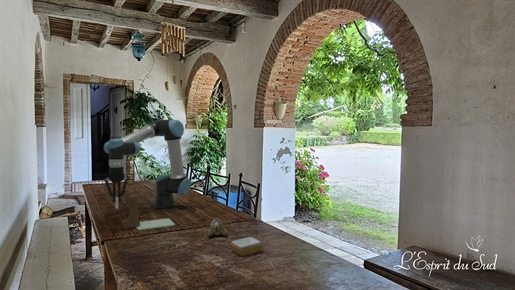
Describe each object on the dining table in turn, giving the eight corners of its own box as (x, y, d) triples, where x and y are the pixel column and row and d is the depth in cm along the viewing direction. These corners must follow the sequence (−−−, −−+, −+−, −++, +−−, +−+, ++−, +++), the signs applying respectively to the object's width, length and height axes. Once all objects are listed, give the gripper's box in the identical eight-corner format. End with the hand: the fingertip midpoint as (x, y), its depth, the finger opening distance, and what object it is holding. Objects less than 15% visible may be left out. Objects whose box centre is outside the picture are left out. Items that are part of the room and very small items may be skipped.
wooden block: (123, 229, 184) (120, 198, 183) (122, 227, 188) (119, 197, 187) (140, 226, 189) (137, 195, 187) (138, 224, 193) (135, 194, 191)
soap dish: (251, 246, 161) (251, 236, 161) (263, 252, 153) (263, 241, 153) (229, 251, 154) (229, 240, 154) (240, 258, 146) (240, 247, 146)
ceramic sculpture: (225, 214, 186) (227, 223, 171) (225, 229, 187) (227, 239, 172) (207, 215, 184) (207, 224, 169) (207, 230, 185) (207, 240, 170)
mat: (168, 219, 206) (168, 218, 206) (175, 225, 193) (175, 224, 193) (134, 223, 196) (133, 222, 196) (137, 230, 183) (137, 229, 183)
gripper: (104, 167, 177) (104, 210, 178) (129, 166, 183) (129, 208, 184) (103, 166, 183) (103, 207, 184) (127, 165, 190) (128, 205, 191)
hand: (116, 207), depth 184 cm, fingers closed
